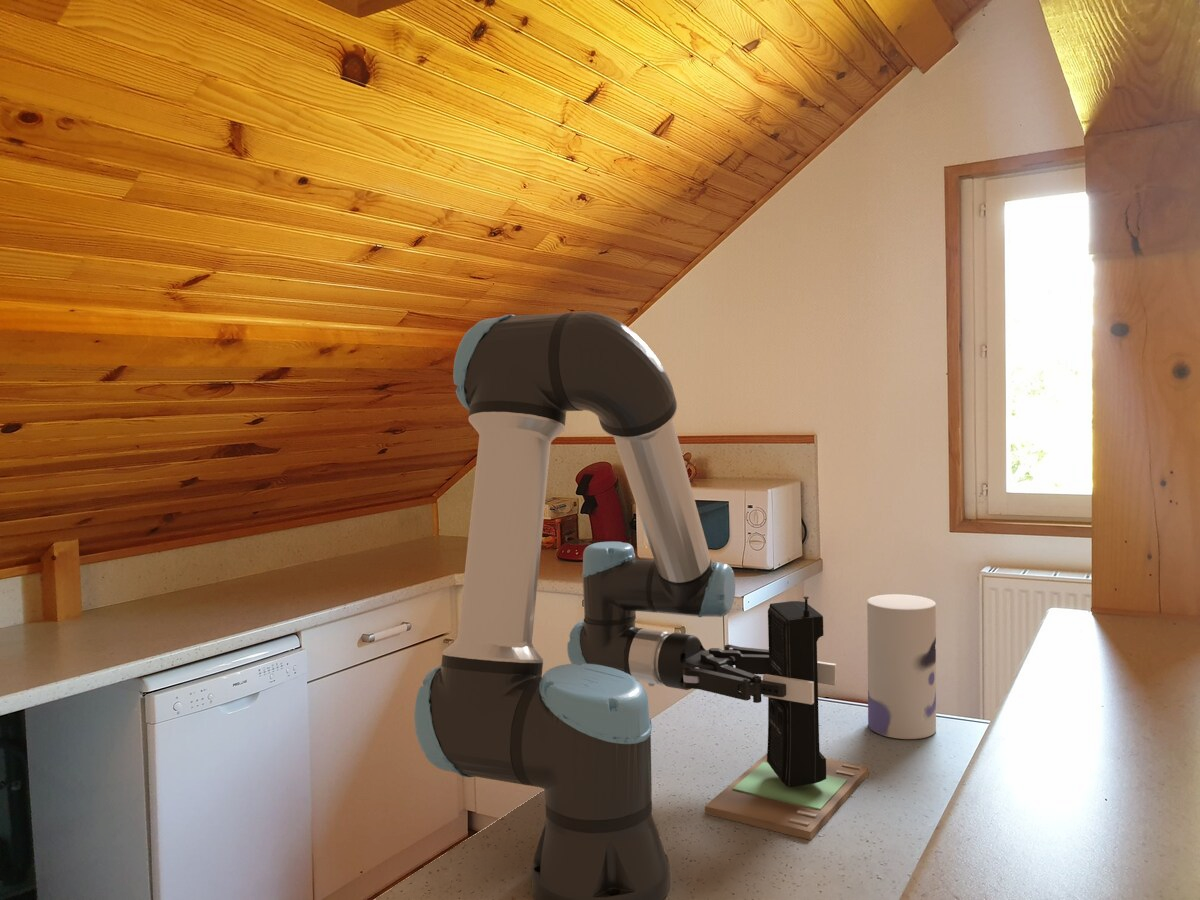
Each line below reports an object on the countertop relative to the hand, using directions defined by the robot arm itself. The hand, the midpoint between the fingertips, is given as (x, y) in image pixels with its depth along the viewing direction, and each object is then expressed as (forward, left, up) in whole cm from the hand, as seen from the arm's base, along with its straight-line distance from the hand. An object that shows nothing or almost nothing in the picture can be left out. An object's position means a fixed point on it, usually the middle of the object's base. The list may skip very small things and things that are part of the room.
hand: (824, 683), depth 124 cm
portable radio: (+1, +5, -13) cm, 14 cm away
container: (+30, -1, -16) cm, 34 cm away
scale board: (0, +5, -15) cm, 16 cm away
